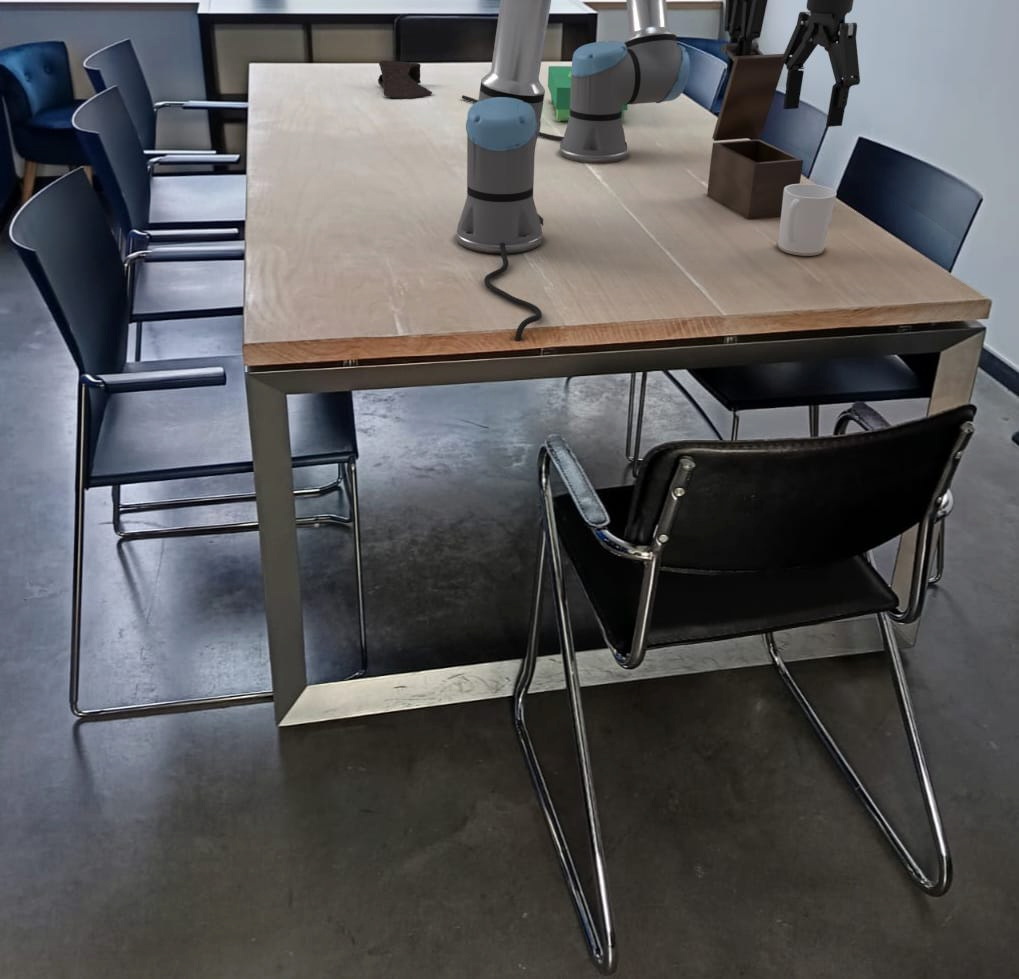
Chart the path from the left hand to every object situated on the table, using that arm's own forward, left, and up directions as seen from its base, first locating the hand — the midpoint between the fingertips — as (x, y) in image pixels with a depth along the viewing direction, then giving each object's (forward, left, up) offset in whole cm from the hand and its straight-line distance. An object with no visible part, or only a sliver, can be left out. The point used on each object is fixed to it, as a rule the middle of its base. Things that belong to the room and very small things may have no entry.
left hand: (811, 117), depth 194 cm
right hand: (+24, +12, +2) cm, 27 cm away
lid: (+19, +9, -1) cm, 21 cm away
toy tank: (+92, +45, -20) cm, 104 cm away
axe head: (+102, +96, -20) cm, 142 cm away
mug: (-12, 0, -20) cm, 24 cm away
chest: (+14, +7, -20) cm, 26 cm away
